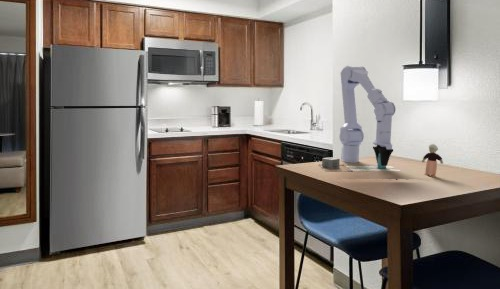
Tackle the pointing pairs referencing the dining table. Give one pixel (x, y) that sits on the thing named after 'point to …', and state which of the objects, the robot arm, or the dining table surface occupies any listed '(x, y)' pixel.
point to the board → (365, 168)
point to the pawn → (380, 163)
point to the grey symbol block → (330, 162)
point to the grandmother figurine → (432, 161)
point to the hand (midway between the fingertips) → (381, 164)
